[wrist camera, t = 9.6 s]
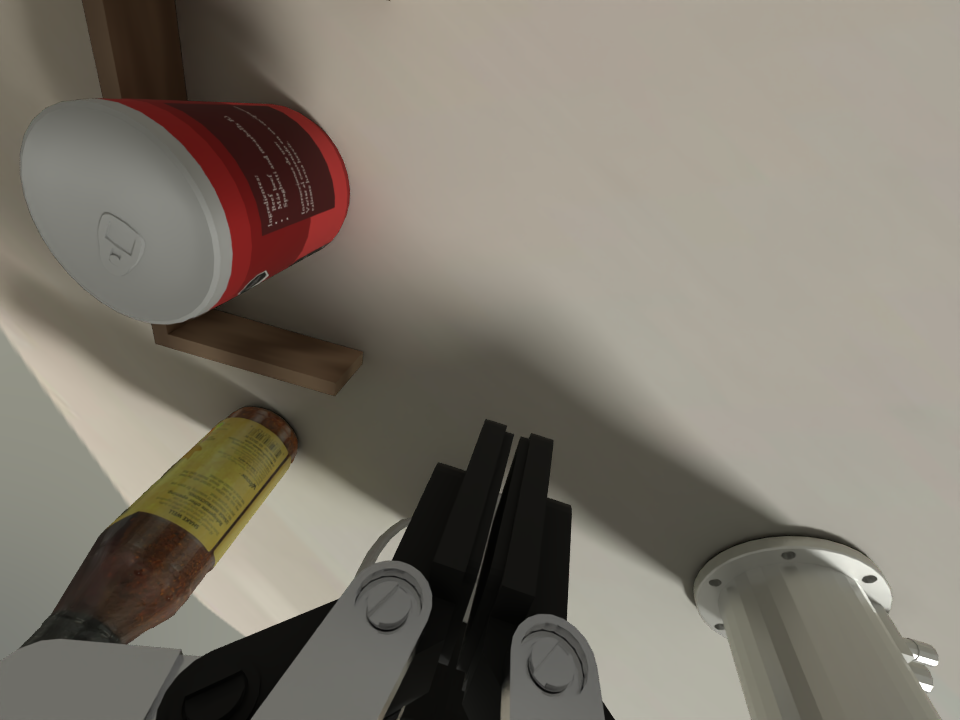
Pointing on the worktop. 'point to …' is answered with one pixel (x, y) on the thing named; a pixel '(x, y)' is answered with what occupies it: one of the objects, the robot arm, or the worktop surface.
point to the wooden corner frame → (159, 76)
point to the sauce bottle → (174, 532)
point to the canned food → (179, 198)
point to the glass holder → (440, 709)
